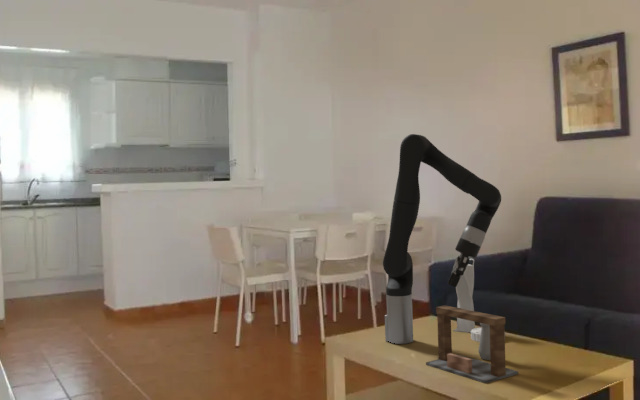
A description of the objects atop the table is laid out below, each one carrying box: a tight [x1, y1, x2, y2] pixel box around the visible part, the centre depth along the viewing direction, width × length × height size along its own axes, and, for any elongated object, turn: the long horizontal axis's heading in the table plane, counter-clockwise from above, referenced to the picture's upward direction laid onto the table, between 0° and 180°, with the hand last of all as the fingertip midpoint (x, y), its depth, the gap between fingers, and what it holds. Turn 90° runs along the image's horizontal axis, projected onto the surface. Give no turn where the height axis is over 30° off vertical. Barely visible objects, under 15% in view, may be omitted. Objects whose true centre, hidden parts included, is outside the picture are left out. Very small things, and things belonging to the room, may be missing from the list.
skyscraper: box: [452, 258, 476, 334], centre depth 258 cm, size 8×8×28 cm
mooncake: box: [470, 326, 482, 343], centre depth 245 cm, size 12×12×4 cm
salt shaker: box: [478, 323, 491, 361], centre depth 219 cm, size 6×6×13 cm
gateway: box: [425, 304, 519, 384], centre depth 208 cm, size 25×14×18 cm, turn 34°
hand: (451, 285), depth 227 cm, fingers open, 8 cm apart
